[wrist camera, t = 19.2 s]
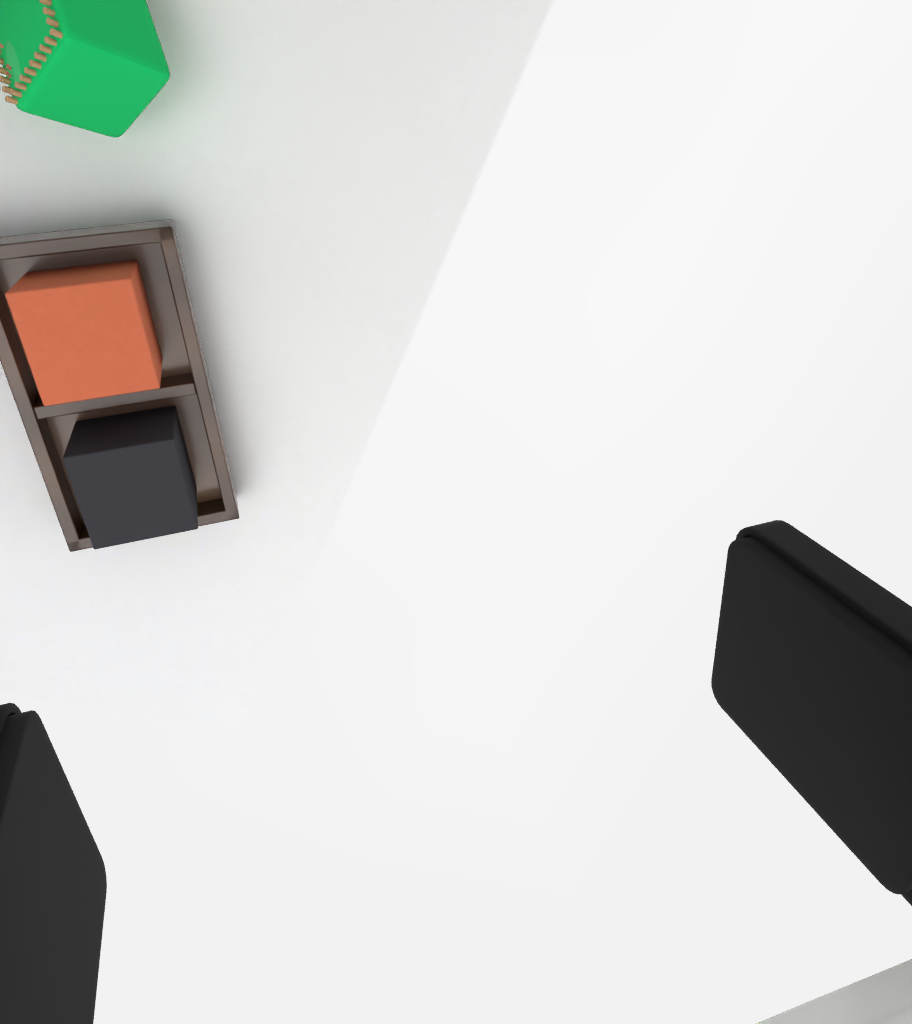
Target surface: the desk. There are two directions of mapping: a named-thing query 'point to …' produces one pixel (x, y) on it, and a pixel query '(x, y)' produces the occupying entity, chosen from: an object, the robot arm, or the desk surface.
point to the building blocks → (81, 60)
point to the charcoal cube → (132, 476)
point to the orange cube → (87, 331)
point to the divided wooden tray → (179, 387)
